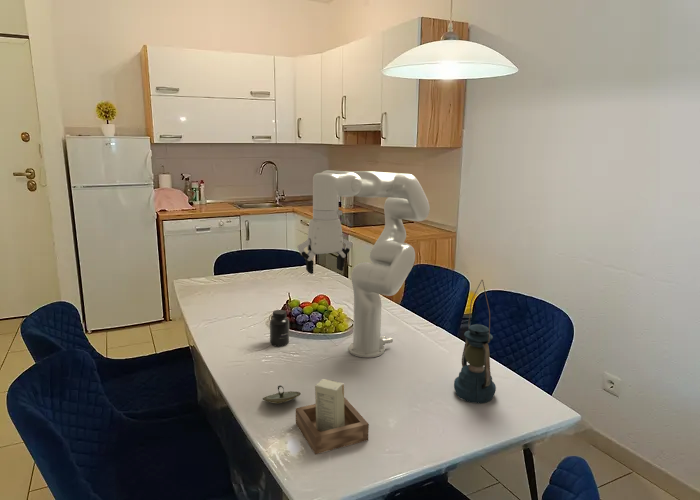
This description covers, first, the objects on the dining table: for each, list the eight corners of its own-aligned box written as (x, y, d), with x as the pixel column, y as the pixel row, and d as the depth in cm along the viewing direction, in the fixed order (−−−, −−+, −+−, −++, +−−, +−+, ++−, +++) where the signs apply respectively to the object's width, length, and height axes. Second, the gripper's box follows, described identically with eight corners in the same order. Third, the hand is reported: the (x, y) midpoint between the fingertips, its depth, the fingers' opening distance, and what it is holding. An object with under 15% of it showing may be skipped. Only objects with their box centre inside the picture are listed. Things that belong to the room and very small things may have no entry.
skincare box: (345, 427, 127) (345, 383, 125) (337, 436, 124) (337, 390, 121) (323, 420, 130) (323, 377, 127) (314, 429, 126) (314, 384, 124)
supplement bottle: (285, 348, 177) (285, 315, 175) (267, 346, 179) (266, 314, 176) (291, 340, 184) (291, 309, 181) (274, 338, 185) (273, 307, 183)
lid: (268, 415, 134) (268, 398, 133) (258, 398, 143) (258, 382, 142) (305, 407, 139) (305, 390, 137) (293, 391, 147) (293, 375, 146)
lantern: (505, 403, 142) (516, 285, 135) (468, 409, 139) (477, 288, 131) (479, 380, 156) (487, 271, 148) (444, 385, 152) (451, 274, 145)
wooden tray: (344, 412, 136) (344, 397, 135) (368, 440, 124) (368, 423, 123) (295, 424, 130) (295, 408, 129) (315, 454, 118) (315, 437, 117)
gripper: (346, 212, 155) (346, 265, 159) (293, 214, 148) (294, 271, 151) (357, 215, 148) (356, 271, 152) (302, 218, 141) (302, 277, 145)
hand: (325, 271), depth 152 cm, fingers open, 9 cm apart
